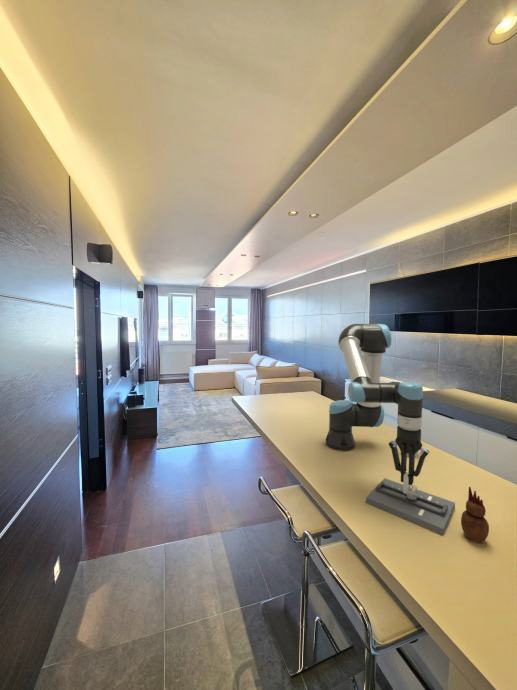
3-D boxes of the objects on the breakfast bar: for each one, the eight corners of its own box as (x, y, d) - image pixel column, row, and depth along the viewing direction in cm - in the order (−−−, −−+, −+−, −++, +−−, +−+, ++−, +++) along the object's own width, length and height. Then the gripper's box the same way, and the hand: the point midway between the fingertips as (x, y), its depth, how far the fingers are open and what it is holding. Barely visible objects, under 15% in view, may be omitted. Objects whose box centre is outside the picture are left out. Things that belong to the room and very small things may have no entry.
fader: (405, 501, 103) (405, 488, 103) (409, 495, 106) (409, 483, 106) (414, 505, 101) (415, 491, 101) (418, 499, 104) (418, 486, 104)
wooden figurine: (456, 530, 92) (458, 484, 90) (473, 529, 92) (476, 483, 91) (473, 547, 85) (476, 497, 84) (492, 545, 85) (495, 496, 84)
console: (365, 502, 106) (366, 493, 106) (384, 482, 119) (384, 474, 119) (443, 535, 90) (443, 524, 89) (454, 508, 103) (455, 498, 102)
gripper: (386, 425, 105) (383, 489, 106) (427, 434, 96) (424, 504, 97) (393, 420, 110) (391, 481, 112) (432, 428, 101) (430, 494, 103)
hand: (406, 491), depth 105 cm, fingers closed
